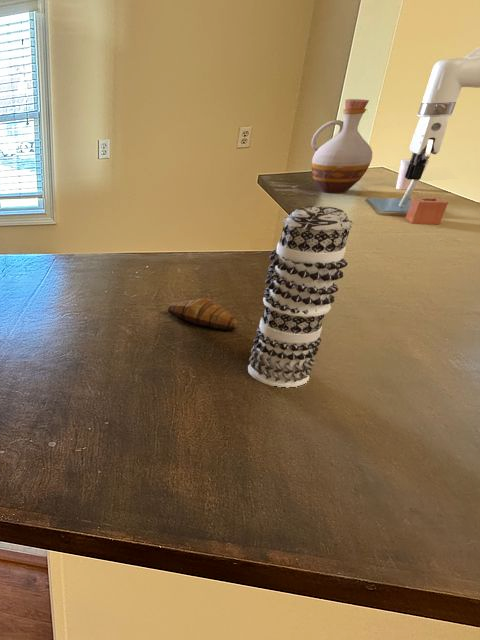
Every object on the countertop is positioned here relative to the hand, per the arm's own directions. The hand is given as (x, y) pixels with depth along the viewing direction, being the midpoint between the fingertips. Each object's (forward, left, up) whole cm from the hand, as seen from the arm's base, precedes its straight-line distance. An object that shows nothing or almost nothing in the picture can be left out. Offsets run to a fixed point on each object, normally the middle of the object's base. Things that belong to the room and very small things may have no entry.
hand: (412, 178), depth 144 cm
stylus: (0, 0, -9) cm, 9 cm away
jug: (+15, -29, -10) cm, 35 cm away
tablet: (0, -3, -10) cm, 10 cm away
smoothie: (-8, -34, -10) cm, 37 cm away
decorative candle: (+41, +114, -10) cm, 121 cm away
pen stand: (-2, +13, -10) cm, 16 cm away
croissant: (+53, +98, -10) cm, 111 cm away
